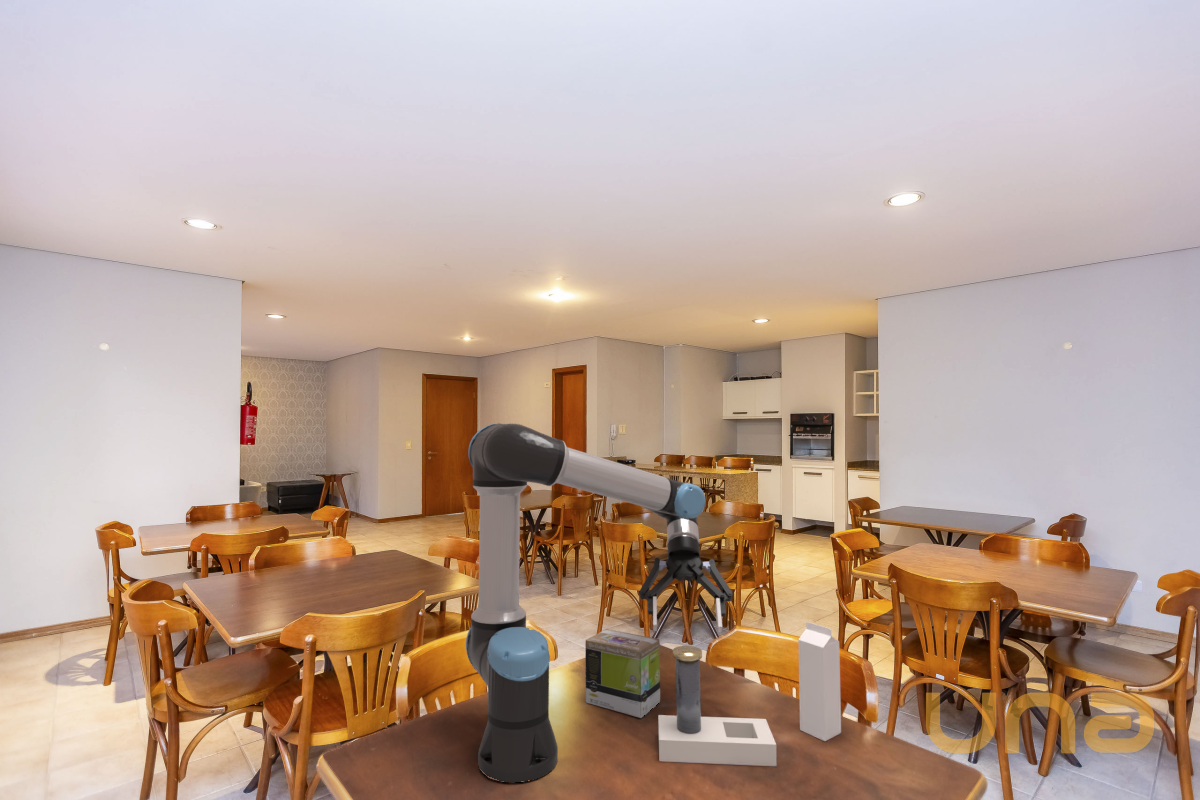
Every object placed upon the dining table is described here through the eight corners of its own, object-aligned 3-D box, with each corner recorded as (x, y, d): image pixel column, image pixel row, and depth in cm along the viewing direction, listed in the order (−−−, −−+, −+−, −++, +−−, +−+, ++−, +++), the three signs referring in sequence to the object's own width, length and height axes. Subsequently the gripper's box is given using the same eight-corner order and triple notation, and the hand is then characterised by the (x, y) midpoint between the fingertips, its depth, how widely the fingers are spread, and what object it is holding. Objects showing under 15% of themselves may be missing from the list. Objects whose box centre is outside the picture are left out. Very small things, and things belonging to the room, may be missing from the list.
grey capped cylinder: (675, 734, 116) (673, 655, 117) (673, 720, 122) (672, 645, 123) (705, 735, 116) (703, 656, 117) (702, 721, 122) (700, 645, 123)
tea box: (661, 702, 139) (661, 638, 140) (640, 720, 131) (640, 651, 131) (606, 687, 147) (606, 626, 148) (583, 703, 139) (584, 638, 139)
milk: (825, 742, 122) (823, 632, 122) (799, 730, 126) (797, 624, 127) (841, 732, 125) (839, 626, 126) (816, 721, 130) (814, 618, 131)
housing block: (659, 761, 114) (659, 739, 115) (658, 734, 124) (658, 715, 125) (776, 766, 113) (776, 744, 113) (766, 738, 123) (765, 719, 123)
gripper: (735, 553, 143) (745, 639, 128) (631, 551, 145) (628, 635, 130) (738, 535, 138) (749, 621, 123) (630, 533, 140) (627, 618, 125)
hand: (687, 629), depth 126 cm, fingers open, 13 cm apart
